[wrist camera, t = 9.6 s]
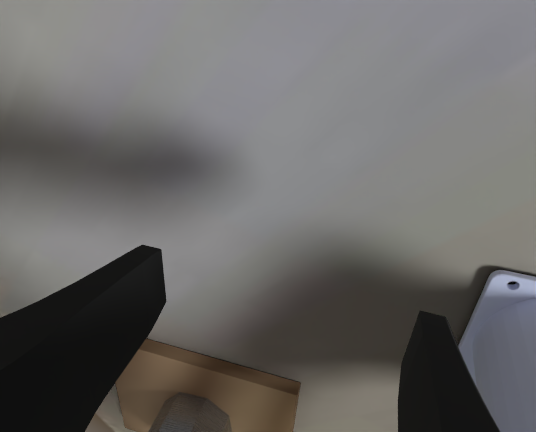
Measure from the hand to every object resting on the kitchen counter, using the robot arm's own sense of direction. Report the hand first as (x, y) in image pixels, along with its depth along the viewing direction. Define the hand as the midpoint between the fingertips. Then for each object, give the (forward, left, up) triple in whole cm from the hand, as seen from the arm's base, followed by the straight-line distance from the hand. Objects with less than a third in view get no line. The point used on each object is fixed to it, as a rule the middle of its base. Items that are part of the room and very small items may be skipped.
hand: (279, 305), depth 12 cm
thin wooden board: (+7, +23, -10) cm, 26 cm away
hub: (+7, +23, -9) cm, 25 cm away
